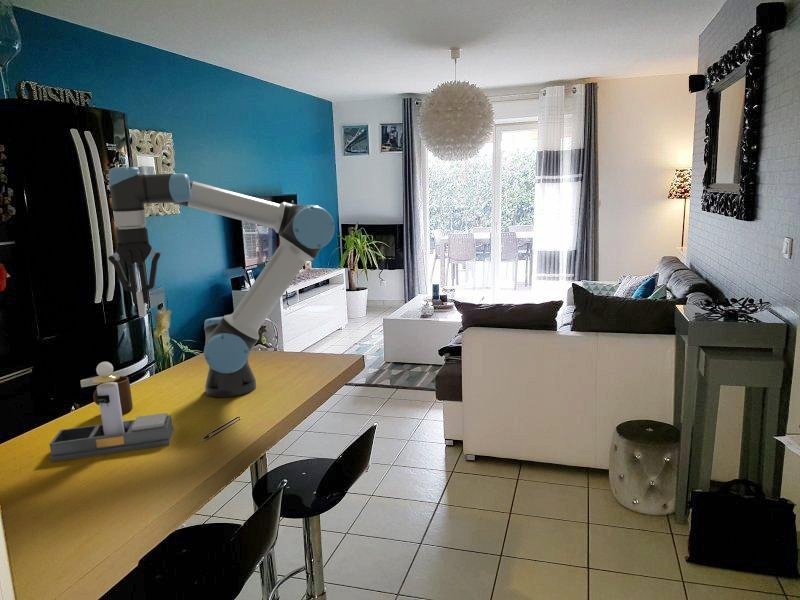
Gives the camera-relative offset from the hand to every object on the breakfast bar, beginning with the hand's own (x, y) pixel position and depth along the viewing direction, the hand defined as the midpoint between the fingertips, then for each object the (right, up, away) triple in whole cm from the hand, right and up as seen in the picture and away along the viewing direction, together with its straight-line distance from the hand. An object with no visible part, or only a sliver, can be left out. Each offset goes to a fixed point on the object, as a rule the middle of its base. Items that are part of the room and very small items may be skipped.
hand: (143, 315), depth 157 cm
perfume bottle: (-1, -31, -14) cm, 33 cm away
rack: (-1, -32, -13) cm, 34 cm away
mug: (-12, -28, +7) cm, 31 cm away
